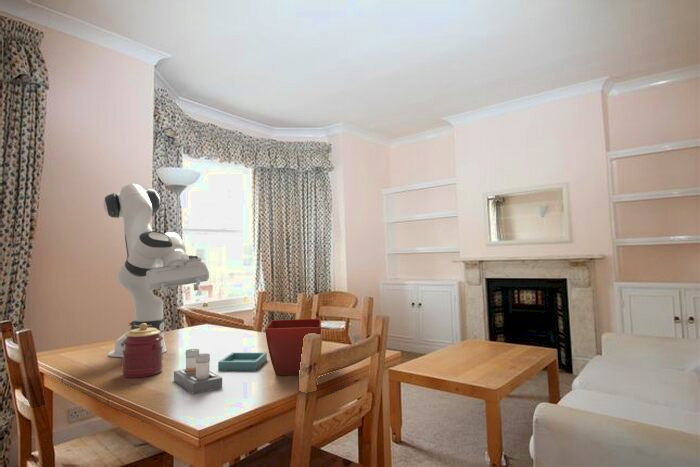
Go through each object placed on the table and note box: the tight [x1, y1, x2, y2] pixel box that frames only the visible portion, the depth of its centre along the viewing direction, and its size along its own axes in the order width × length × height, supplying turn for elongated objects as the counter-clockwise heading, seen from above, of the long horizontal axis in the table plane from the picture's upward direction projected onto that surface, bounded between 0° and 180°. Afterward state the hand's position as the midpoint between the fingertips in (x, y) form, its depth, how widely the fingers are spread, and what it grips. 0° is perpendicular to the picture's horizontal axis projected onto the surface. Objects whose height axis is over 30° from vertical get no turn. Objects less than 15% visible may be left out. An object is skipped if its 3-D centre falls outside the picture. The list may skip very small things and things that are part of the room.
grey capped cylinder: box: [185, 348, 200, 375], centre depth 133 cm, size 4×4×10 cm
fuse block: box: [173, 368, 223, 395], centre depth 129 cm, size 18×9×3 cm, turn 41°
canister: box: [121, 323, 164, 379], centre depth 142 cm, size 13×13×18 cm
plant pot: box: [264, 318, 322, 376], centre depth 144 cm, size 19×19×17 cm
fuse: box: [196, 352, 211, 381], centre depth 126 cm, size 4×4×10 cm
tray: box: [217, 352, 268, 372], centre depth 151 cm, size 14×14×3 cm
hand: (182, 291), depth 139 cm, fingers open, 8 cm apart
